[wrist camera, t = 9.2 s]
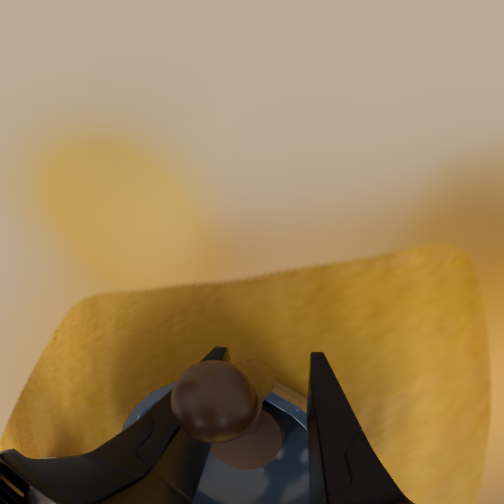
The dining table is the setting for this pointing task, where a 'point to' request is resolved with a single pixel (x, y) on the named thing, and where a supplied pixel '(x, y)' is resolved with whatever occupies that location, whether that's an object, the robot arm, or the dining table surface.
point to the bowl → (261, 479)
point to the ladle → (230, 411)
